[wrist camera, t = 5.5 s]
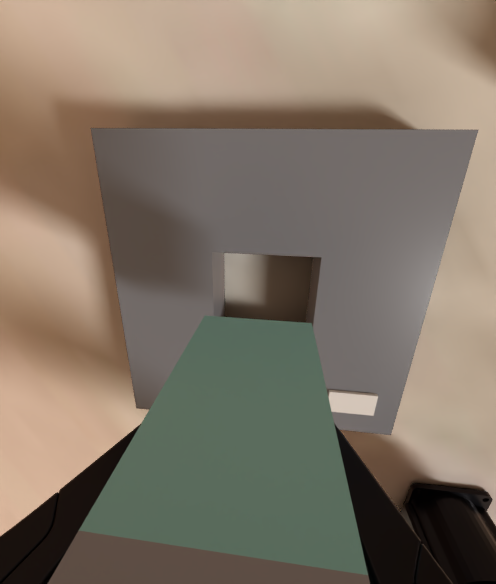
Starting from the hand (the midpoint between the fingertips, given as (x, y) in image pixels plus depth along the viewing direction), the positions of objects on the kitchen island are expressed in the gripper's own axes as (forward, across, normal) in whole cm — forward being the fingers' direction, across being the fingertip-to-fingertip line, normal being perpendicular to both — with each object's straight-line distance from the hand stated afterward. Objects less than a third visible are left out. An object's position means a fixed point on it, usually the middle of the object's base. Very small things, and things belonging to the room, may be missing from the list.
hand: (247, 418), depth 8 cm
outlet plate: (+12, 0, 0) cm, 12 cm away
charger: (+3, 0, 0) cm, 3 cm away
